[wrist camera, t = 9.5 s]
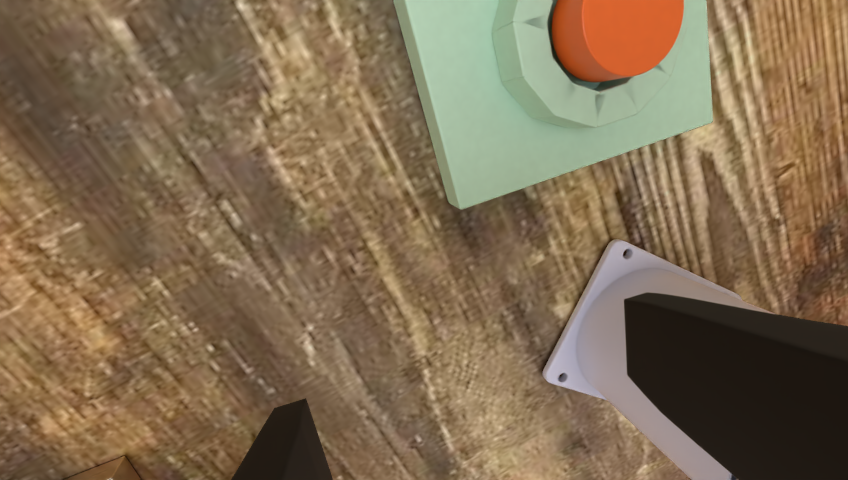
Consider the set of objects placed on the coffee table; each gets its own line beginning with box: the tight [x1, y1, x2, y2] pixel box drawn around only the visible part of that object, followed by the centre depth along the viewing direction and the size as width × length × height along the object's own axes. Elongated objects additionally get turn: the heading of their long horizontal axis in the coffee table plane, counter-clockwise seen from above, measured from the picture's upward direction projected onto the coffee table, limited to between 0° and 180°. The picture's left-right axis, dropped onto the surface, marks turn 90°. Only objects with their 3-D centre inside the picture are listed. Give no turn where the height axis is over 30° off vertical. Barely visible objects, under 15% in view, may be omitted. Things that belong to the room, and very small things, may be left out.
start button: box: [552, 0, 684, 82], centre depth 13 cm, size 4×4×2 cm
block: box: [393, 0, 713, 209], centre depth 15 cm, size 12×10×4 cm
